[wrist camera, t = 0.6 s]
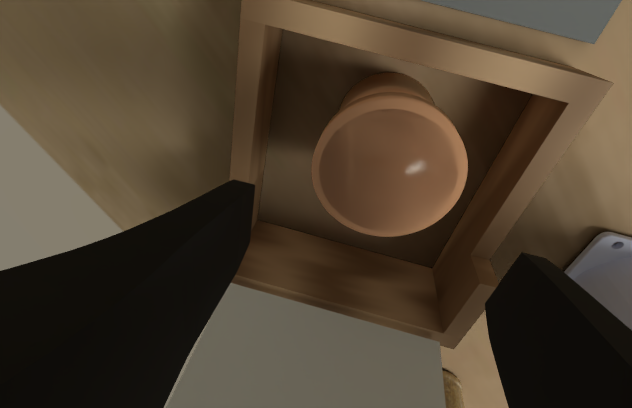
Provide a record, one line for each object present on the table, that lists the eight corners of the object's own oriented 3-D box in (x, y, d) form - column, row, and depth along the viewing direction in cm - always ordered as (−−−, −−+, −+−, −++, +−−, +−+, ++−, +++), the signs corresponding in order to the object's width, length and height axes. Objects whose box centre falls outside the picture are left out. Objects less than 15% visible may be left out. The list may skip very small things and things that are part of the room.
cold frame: (573, 67, 14) (890, 191, 5) (430, 298, 23) (460, 492, 14) (266, -12, 15) (83, -18, 6) (239, 245, 24) (151, 400, 15)
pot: (462, 82, 15) (499, 124, 10) (417, 182, 19) (429, 251, 14) (346, 52, 16) (329, 80, 11) (321, 156, 19) (299, 215, 14)
